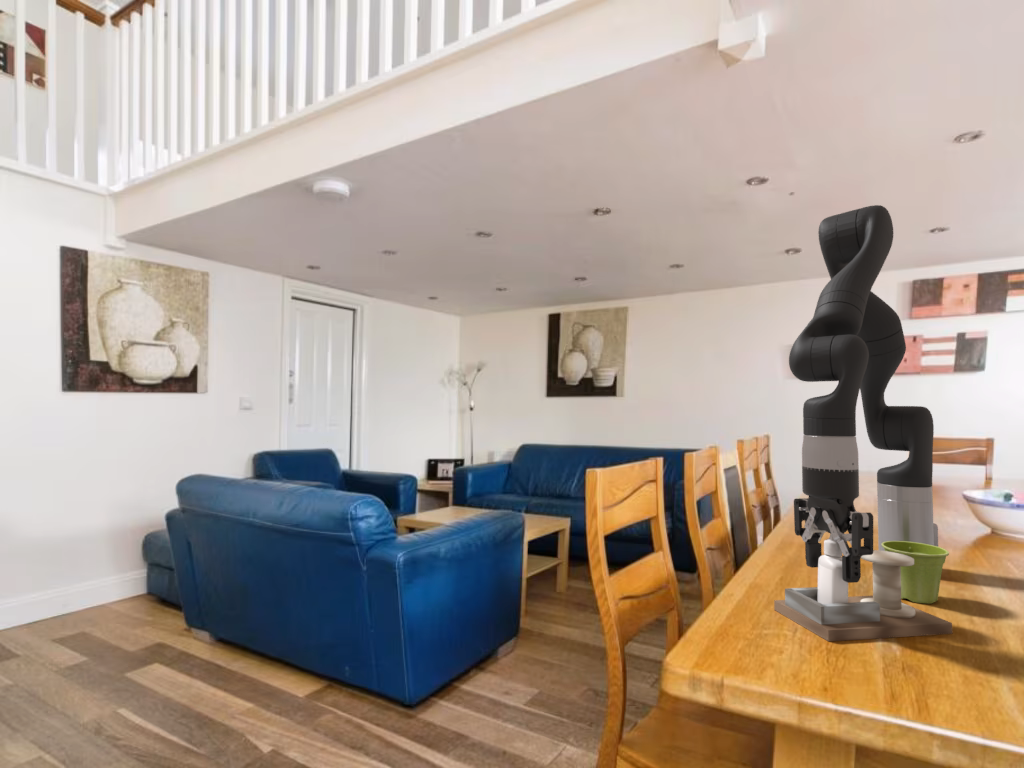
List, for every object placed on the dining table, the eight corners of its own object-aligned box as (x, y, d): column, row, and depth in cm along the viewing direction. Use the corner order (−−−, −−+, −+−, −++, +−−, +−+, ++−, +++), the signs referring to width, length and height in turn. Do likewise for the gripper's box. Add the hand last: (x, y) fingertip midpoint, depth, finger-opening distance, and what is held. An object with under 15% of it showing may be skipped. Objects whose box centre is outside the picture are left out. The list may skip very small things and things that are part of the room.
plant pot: (963, 610, 89) (961, 556, 89) (898, 605, 90) (897, 552, 91) (931, 591, 98) (929, 542, 98) (872, 587, 100) (871, 539, 100)
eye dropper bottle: (812, 613, 82) (814, 532, 82) (818, 603, 86) (820, 527, 87) (846, 621, 79) (847, 538, 80) (851, 610, 84) (852, 532, 84)
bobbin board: (884, 604, 91) (882, 545, 91) (952, 633, 79) (950, 565, 80) (774, 609, 88) (773, 548, 88) (828, 641, 76) (827, 570, 76)
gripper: (890, 470, 77) (892, 588, 77) (818, 460, 92) (820, 560, 91) (842, 470, 76) (845, 590, 75) (777, 460, 90) (779, 561, 90)
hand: (831, 573), depth 83 cm, fingers open, 7 cm apart
